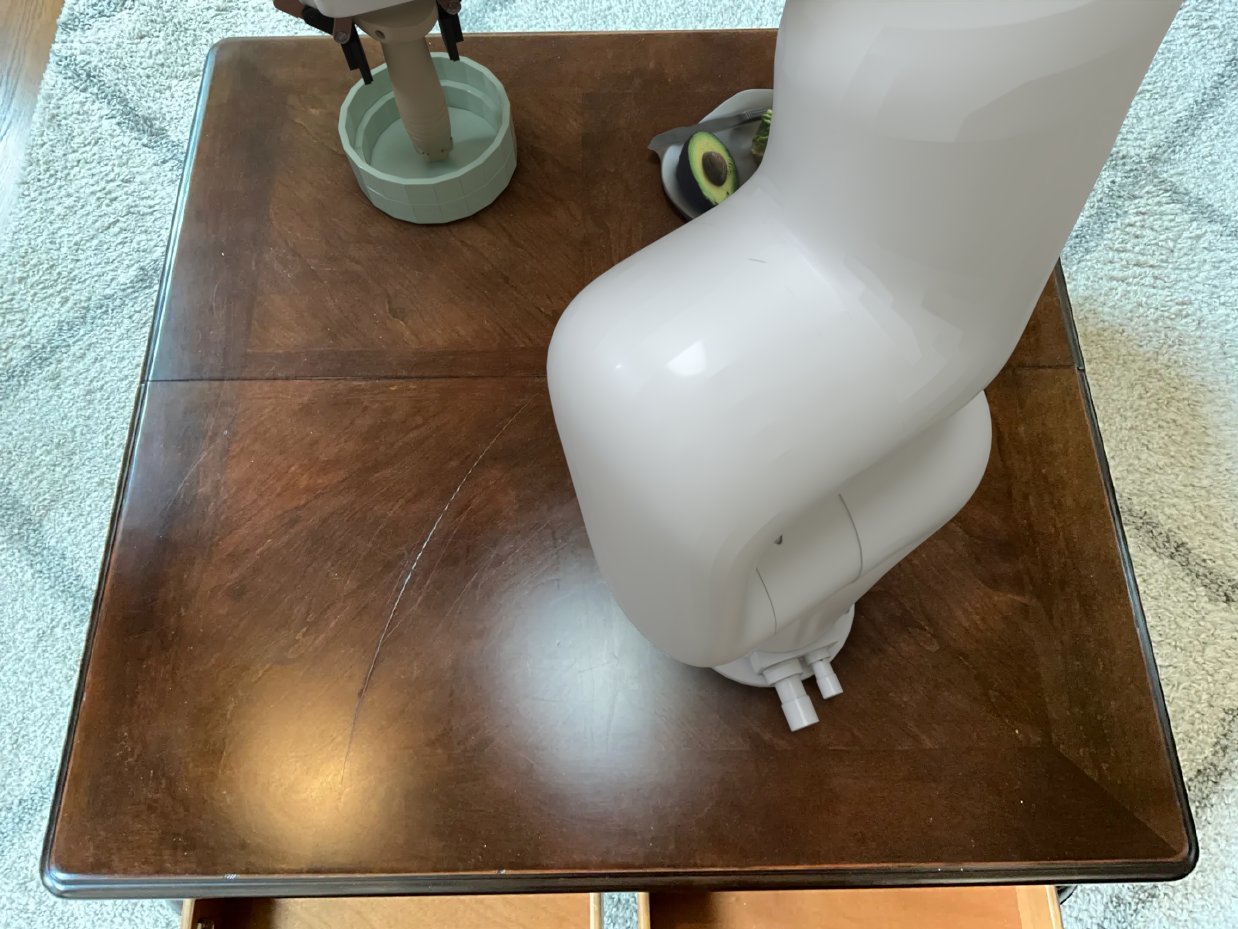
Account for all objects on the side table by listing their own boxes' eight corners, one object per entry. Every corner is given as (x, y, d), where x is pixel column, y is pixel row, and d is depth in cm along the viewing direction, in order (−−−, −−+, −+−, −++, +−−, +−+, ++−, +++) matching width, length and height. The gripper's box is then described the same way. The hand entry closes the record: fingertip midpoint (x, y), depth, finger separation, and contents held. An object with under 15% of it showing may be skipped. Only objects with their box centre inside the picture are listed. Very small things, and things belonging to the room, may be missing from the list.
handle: (458, 180, 76) (418, 35, 62) (390, 162, 77) (336, 14, 63) (480, 139, 77) (445, -12, 64) (413, 121, 78) (365, -31, 65)
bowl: (537, 200, 76) (530, 156, 71) (378, 246, 75) (359, 204, 70) (492, 84, 82) (483, 34, 77) (342, 124, 80) (323, 76, 75)
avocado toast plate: (773, 58, 82) (781, 16, 78) (924, 166, 77) (941, 128, 73) (623, 174, 77) (623, 136, 73) (774, 298, 72) (782, 265, 68)
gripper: (197, -115, 49) (308, 125, 66) (494, -185, 51) (529, 65, 68) (178, -194, 52) (289, 55, 68) (461, -258, 54) (502, -1, 70)
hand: (408, 58), depth 68 cm, fingers closed on handle, 6 cm apart
